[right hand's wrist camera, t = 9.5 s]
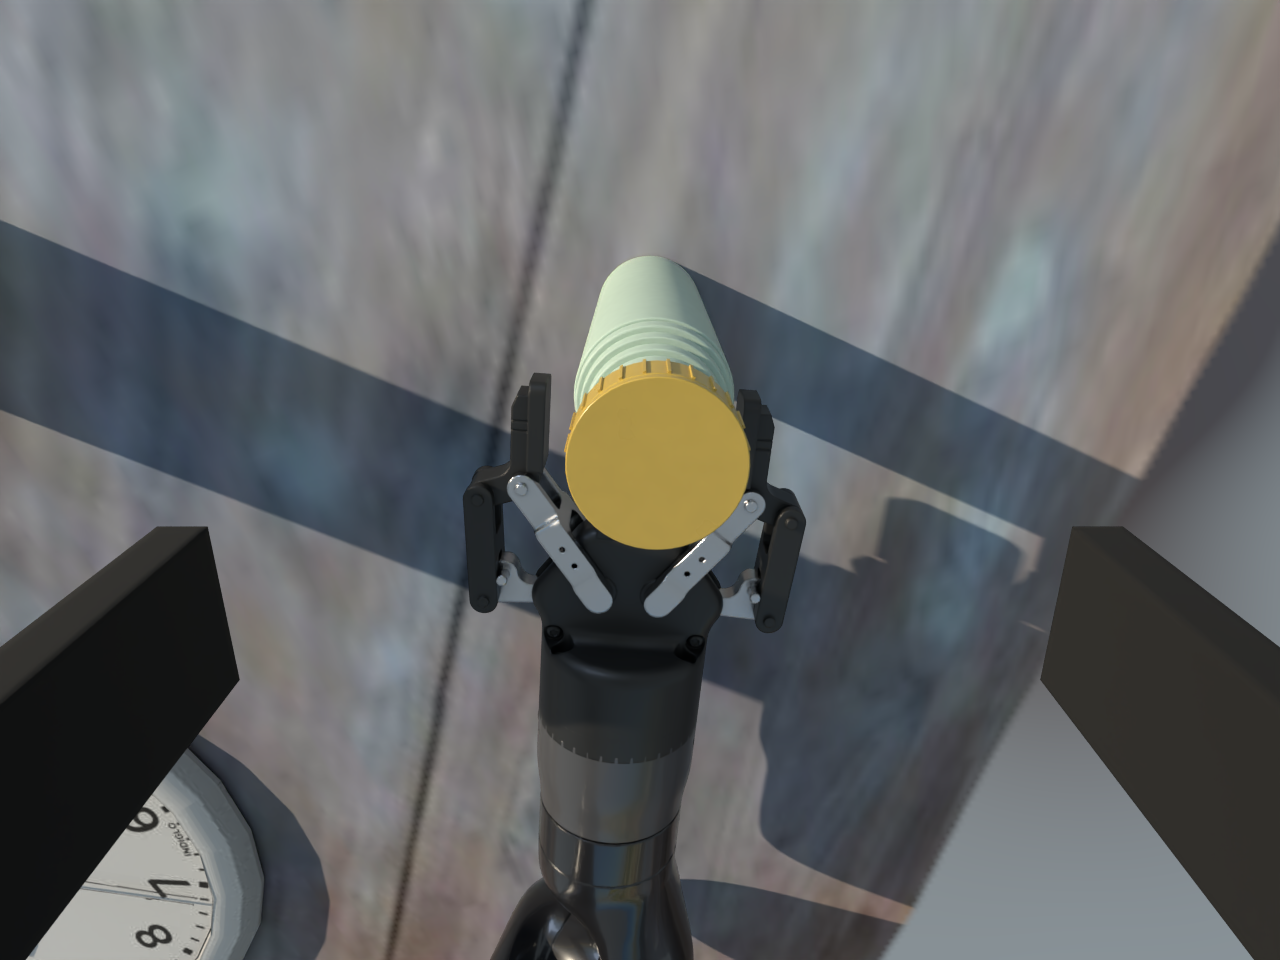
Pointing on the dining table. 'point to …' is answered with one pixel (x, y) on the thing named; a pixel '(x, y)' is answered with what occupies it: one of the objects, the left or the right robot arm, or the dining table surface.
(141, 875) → the wall clock
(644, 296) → the bottle
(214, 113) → the dining table surface
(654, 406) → the cap
